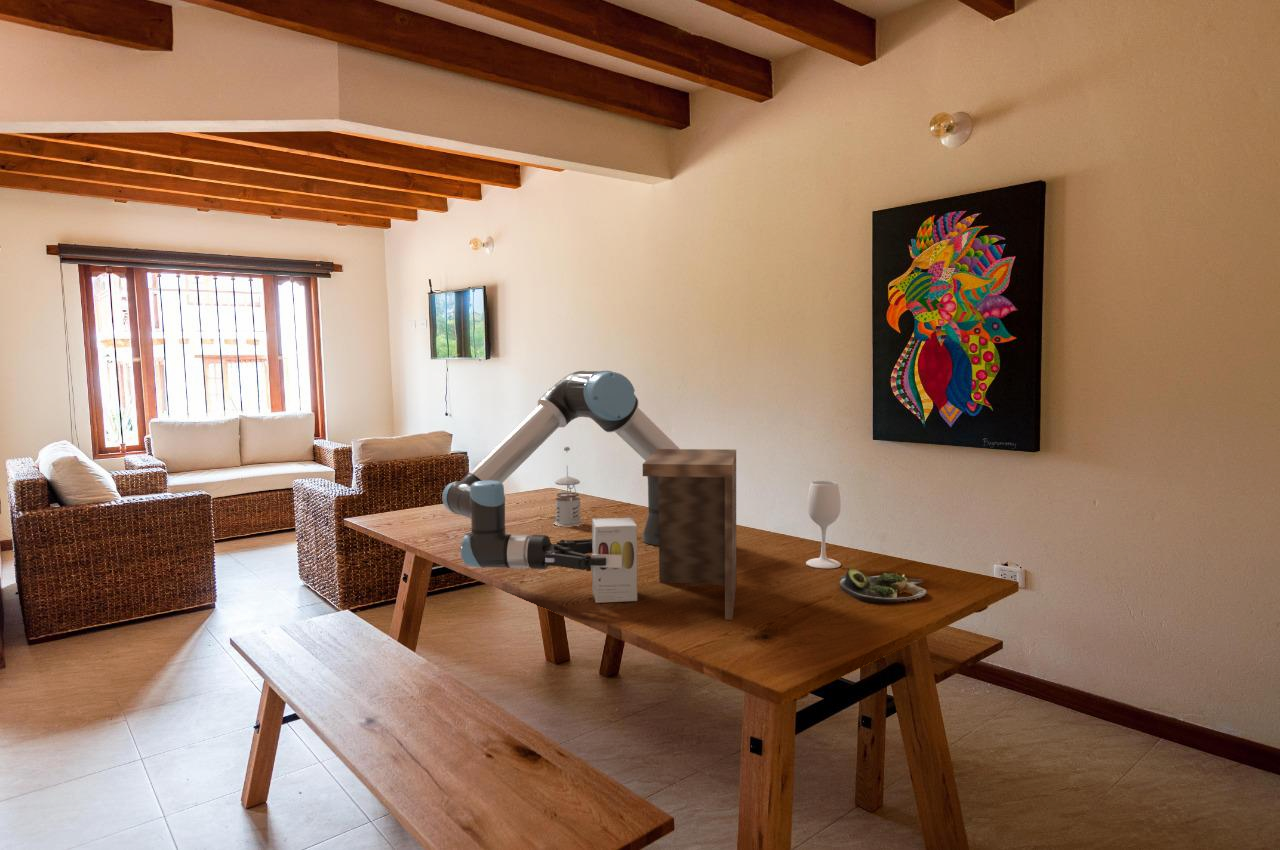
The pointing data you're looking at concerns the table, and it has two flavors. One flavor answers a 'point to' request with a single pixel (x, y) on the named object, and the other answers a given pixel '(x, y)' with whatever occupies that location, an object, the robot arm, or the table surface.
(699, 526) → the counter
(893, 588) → the salad plate
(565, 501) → the french press
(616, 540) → the supplement box
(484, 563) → the robot arm
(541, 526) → the table surface
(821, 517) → the wineglass
